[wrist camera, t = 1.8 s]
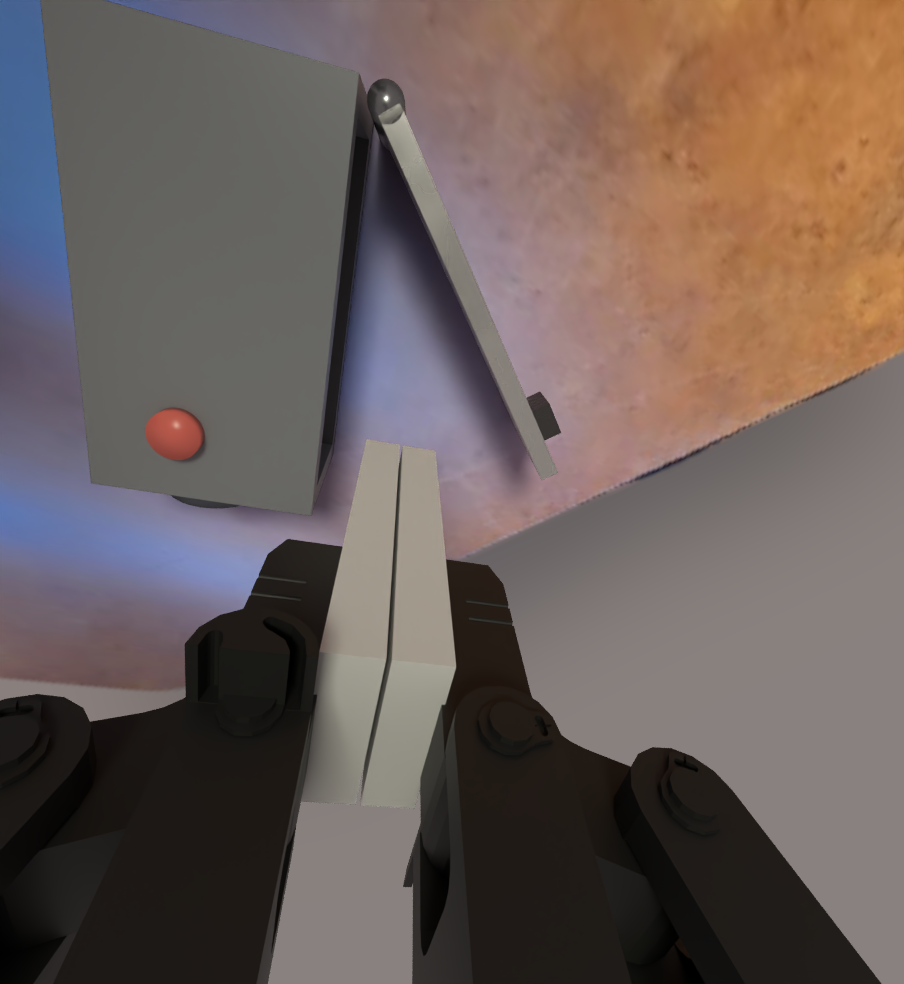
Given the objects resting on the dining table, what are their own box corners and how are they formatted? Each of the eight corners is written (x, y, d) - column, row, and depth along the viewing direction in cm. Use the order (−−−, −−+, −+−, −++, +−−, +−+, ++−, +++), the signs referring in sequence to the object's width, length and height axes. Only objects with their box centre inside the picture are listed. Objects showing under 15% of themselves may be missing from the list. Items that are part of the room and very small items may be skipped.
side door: (373, 126, 22) (359, 90, 16) (415, 101, 22) (416, 57, 16) (513, 432, 29) (537, 482, 23) (546, 416, 29) (578, 463, 23)
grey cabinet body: (150, 55, 21) (24, -28, 14) (374, 115, 22) (357, 67, 15) (164, 442, 28) (85, 510, 21) (330, 469, 30) (306, 542, 23)
